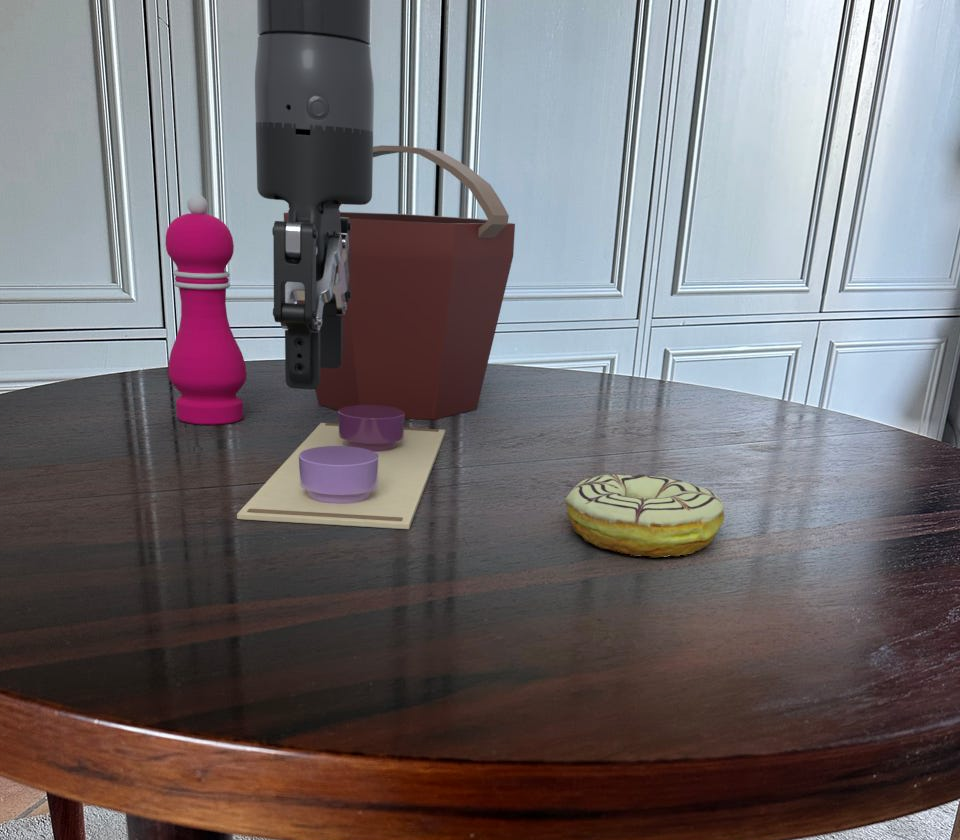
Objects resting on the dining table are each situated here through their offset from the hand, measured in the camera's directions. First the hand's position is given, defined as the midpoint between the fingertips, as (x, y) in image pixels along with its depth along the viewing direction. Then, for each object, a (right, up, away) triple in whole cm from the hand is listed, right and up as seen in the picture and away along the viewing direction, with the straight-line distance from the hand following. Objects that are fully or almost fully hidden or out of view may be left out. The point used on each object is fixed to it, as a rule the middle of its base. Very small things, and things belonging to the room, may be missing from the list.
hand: (315, 377), depth 73 cm
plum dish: (+2, -1, +18) cm, 18 cm away
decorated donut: (+23, -12, -2) cm, 26 cm away
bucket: (+3, +7, +38) cm, 39 cm away
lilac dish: (+1, -8, +3) cm, 9 cm away
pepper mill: (-15, +3, +27) cm, 31 cm away
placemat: (+2, -5, +12) cm, 13 cm away
